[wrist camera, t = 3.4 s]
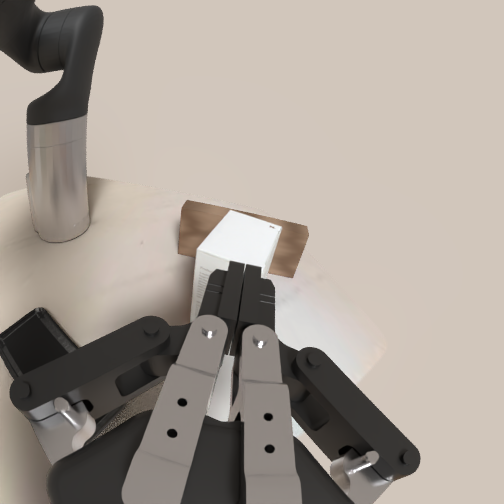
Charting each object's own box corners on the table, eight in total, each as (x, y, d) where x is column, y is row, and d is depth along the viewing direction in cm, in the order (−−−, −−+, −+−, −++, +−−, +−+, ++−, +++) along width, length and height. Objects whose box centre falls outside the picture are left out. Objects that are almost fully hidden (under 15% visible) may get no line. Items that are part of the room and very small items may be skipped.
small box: (215, 285, 33) (229, 207, 27) (259, 301, 32) (283, 225, 26) (187, 331, 26) (194, 246, 20) (238, 352, 26) (264, 271, 20)
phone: (41, 304, 22) (130, 397, 18) (43, 311, 23) (132, 401, 19) (-8, 340, 16) (71, 455, 12) (-4, 347, 17) (76, 458, 13)
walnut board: (178, 253, 36) (181, 207, 32) (182, 244, 38) (187, 200, 34) (292, 278, 37) (309, 235, 33) (291, 267, 39) (306, 226, 35)
